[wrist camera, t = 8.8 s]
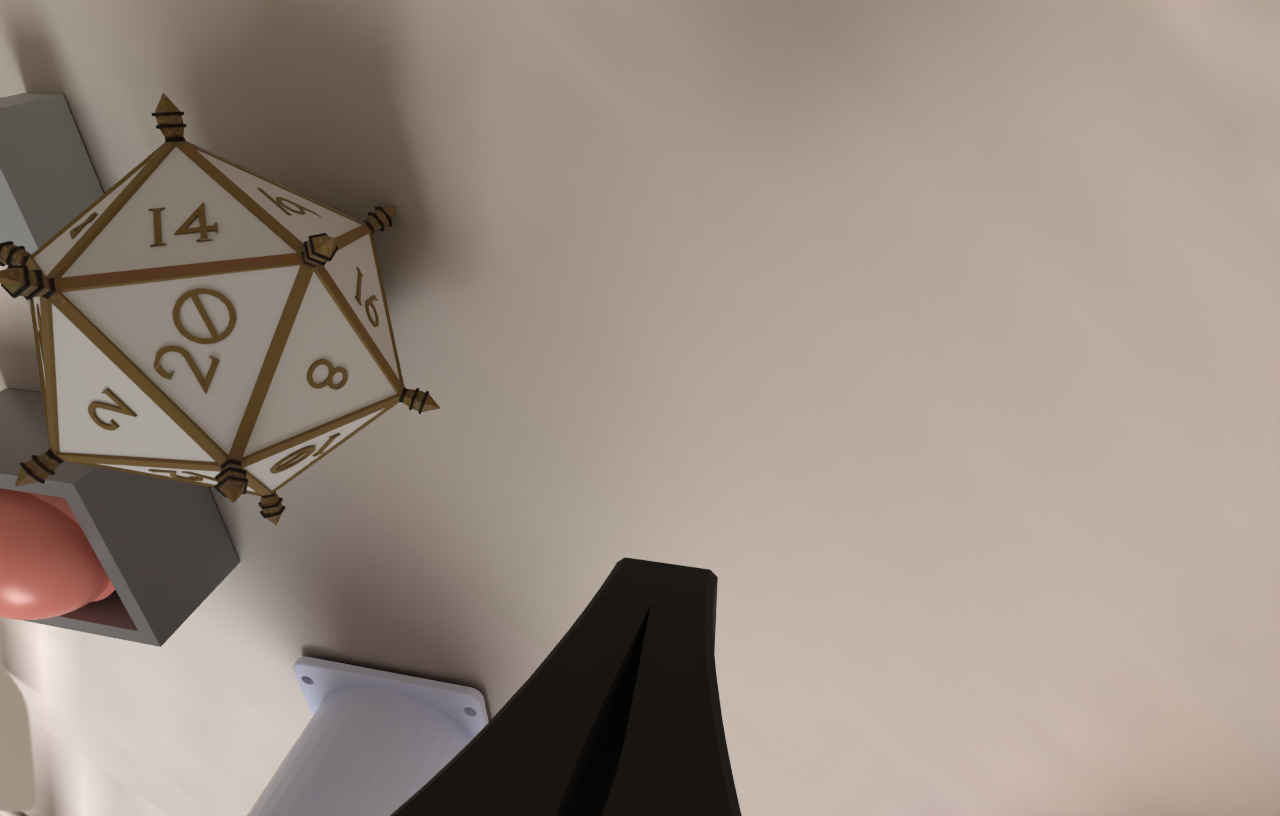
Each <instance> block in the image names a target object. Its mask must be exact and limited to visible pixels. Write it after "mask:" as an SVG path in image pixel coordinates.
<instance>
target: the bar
mask: <svg viewBox="0 0 1280 816" xmlns="http://www.w3.org/2000/svg"><path fill="white" fill-rule="evenodd" d="M103 194H104V193H103V191H102V189H101V186H100V184H99V181H98V179H97V176H96V174H95V171H94V169H93V166H92V164H91V161H90V159H89V156H88V154H87V152H86V149H85V147H84V144H83V142H82V139H81V137H80V134H79V132H78V129H77V127H76V124H75V122H74V119H73V117H72V115H71V112H70V110H69V107H68V105H67V102H66V100H65V97H64V95H63V94H49V93H22V94H18V95H13V96H8V97H4V98H0V243H3V242H8V241H12V242H13V245H16V246H24V247H25V250H26V251H27V252H29V253H30V254H33V253H34V252H35V251H36V250H38V249H39V248H40V247H41V246H42V245H44V244H45V243H46V242H47V241H48V240H50V239H51V238H52V237H53V236H54V235H56V234H57V233H58V232H59V231H60V230H62V229H63V228H64V227H65V226H66V225H67V224H69V223H70V222H71V221H72V220H73V219H75V218H76V217H77V216H78V215H79V214H81V213H82V212H83V211H84V210H85V209H87V208H88V207H89V206H90V205H91V204H92V203H94V202H95V201H96V200H97V199H98V198H100V197H101V196H102V195H103ZM26 300H27V299H26ZM27 302H28V304H29V306H30V300H27ZM30 308H31V306H30Z"/></svg>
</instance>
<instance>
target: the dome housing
mask: <svg viewBox="0 0 1280 816" xmlns="http://www.w3.org/2000/svg"><path fill="white" fill-rule="evenodd" d="M49 448H50V447H49V440H48V432H47V425H46V418H45V410H44V403H43V395H42V393H40V392H32V391H23V390H15V389H4V390H2V391H0V488H2V489H9V490H15V491H22V492H29V493H35V494H42V495H48V496H55V497H62V498H65V499H66V501H67V503H68V505H69V507H70V508H71V510H72V512H73V514H74V516H75V517H76V519H77V521H78V523H79V525H80V526H81V528H82V530H83V532H84V534H85V535H86V537H87V539H88V541H89V543H90V545H91V546H92V548H93V550H94V552H95V554H96V555H97V557H98V559H99V561H100V563H101V564H102V566H103V568H104V570H105V572H106V573H107V575H108V577H109V579H110V581H111V583H112V584H113V586H114V588H115V590H114V591H113V592H112V593H111V594H110V595H109V596H108V597H106V598H104V599H102V600H99V601H93V602H89V603H88V604H86V605H84V606H82V607H80V608H78V609H76V610H74V611H72V612H69V613H66V614H63V615H60V616H56V617H51V618H47V619H37V620H24V621H30V622H35V623H40V624H45V625H50V626H56V627H61V628H66V629H71V630H77V631H82V632H87V633H92V634H97V635H103V636H108V637H113V638H118V639H123V640H129V641H134V642H139V643H144V644H150V645H155V646H160V647H161V646H162V645H163V644H164V643H165V642H166V640H167V639H168V638H169V637H170V636H171V635H172V634H173V633H174V632H175V631H176V630H177V629H178V628H179V627H180V626H181V624H182V623H183V622H184V621H185V620H186V619H187V618H188V617H189V616H190V615H191V614H192V613H193V612H194V611H195V610H196V608H197V607H198V606H199V605H200V604H201V603H202V602H203V601H204V600H205V599H206V598H207V597H208V596H209V595H210V593H211V592H212V591H213V590H214V589H215V588H216V587H217V586H218V585H219V584H220V583H221V582H222V581H223V580H224V579H225V577H226V576H227V575H228V574H229V573H230V572H231V571H232V570H233V569H234V568H235V567H236V566H237V565H238V564H239V562H240V561H239V559H238V557H237V554H236V552H235V549H234V547H233V545H232V542H231V540H230V537H229V535H228V533H227V530H226V528H225V526H224V523H223V521H222V518H221V516H220V514H219V511H218V509H217V506H216V504H215V502H214V499H213V497H212V494H211V492H210V490H209V487H208V486H202V485H196V484H191V483H185V482H179V481H173V480H168V479H162V478H156V477H150V476H145V475H139V474H133V473H127V472H122V471H116V470H110V469H105V468H99V467H93V466H87V465H82V464H76V463H70V462H62V463H60V464H59V466H58V467H57V468H56V470H55V473H56V474H54V475H49V476H48V477H47V478H46V479H45V483H44V484H42V483H40V482H39V483H33V484H27V485H21V486H15V483H16V480H17V477H18V474H19V472H20V469H21V465H20V463H21V462H23V463H26V462H28V461H29V460H31V459H32V457H31V456H32V455H36V456H38V455H40V454H43V453H45V452H47V451H48V450H49ZM14 486H15V487H14Z"/></svg>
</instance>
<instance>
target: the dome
mask: <svg viewBox="0 0 1280 816" xmlns="http://www.w3.org/2000/svg"><path fill="white" fill-rule="evenodd" d="M114 590H115V588H114V586H113V584H112V583H111V581H110V579H109V577H108V575H107V573H106V572H105V570H104V568H103V566H102V564H101V563H100V561H99V559H98V557H97V555H96V554H95V552H94V550H93V548H92V546H91V545H90V543H89V541H88V539H87V537H86V535H85V534H84V532H83V530H82V528H81V526H80V525H79V523H78V521H77V519H76V517H75V516H74V514H73V512H72V510H71V508H70V507H69V505H68V503H67V501H66V499H65V498H62V497H55V496H48V495H42V494H35V493H29V492H22V491H15V490H9V489H2V488H0V617H5V618H10V619H17V620H37V619H47V618H51V617H56V616H60V615H63V614H66V613H69V612H72V611H74V610H76V609H78V608H80V607H82V606H84V605H86V604H88V603H89V602H93V601H99V600H102V599H104V598H106V597H108V596H109V595H110V594H111V593H112V592H113V591H114Z"/></svg>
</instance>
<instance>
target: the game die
mask: <svg viewBox="0 0 1280 816" xmlns="http://www.w3.org/2000/svg"><path fill="white" fill-rule="evenodd" d="M182 115H184V112H180V111H179V109H178V108H177V107H176V106H175V105H174V104H173V103H172V102H171V101H170V100H169V98H168V97H167V96H166V95H165V94H164V93H163V94H162V96H161V99H160V101H159V104H158V106H157V109H156V111H155V113H152V116H156V119H157V122H158V125H157V126H156V128H157V129H160V130H161V132H162V133H163V135H164V136H165V143H164V144H163V145H162V146H160V147H159V148H158V149H157V150H156V151H154V152H153V153H152V154H151V155H150V156H148V157H147V158H146V159H145V160H144V161H143V162H141V163H140V164H139V165H138V166H137V167H135V168H134V169H133V170H132V171H131V172H129V173H128V174H127V175H126V176H125V177H123V178H122V179H121V180H120V181H119V182H118V183H116V184H115V185H114V186H113V187H112V188H110V189H109V190H108V191H107V192H106V193H104V194H103V195H102V196H101V197H100V198H98V199H97V200H96V201H95V202H94V203H92V204H91V205H90V206H89V207H88V208H87V209H85V210H84V211H83V212H82V213H81V214H79V215H78V216H77V217H76V218H75V219H73V220H72V221H71V222H70V223H69V224H67V225H66V226H65V227H64V228H63V229H62V230H60V231H59V232H58V233H57V234H56V235H54V236H53V237H52V238H51V239H50V240H48V241H47V242H46V243H45V244H44V245H42V246H41V247H40V248H39V249H38V250H36V251H35V252H34V253H33V254H30V253H29V252H27V251H26V250H25V247H24V246H16V245H13V242H12V241H8V242H3V243H0V265H1V266H3V267H4V266H5V265H8V268H7V269H5V270H2V271H0V283H1V286H2V287H3V288H4V289H5V290H6V291H7V292H8V293H9V294H10V295H11V296H12V297H13V298H16V297H18V296H19V295H20V296H24V297H25V298H26V299H27V300H30V306H31V314H32V321H33V328H34V336H35V343H36V351H37V358H38V366H39V373H40V380H41V388H42V395H43V403H44V410H45V418H46V425H47V432H48V440H49V447H50V448H49V450H48V451H47V452H45V453H43V454H40V455H38V456H36V455H32V456H31V457H32V459H31V460H29V461H28V462H26V463H23V462H21V463H20V465H21V469H20V472H19V474H18V477H17V480H16V483H15V486H21V485H27V484H33V483H39V482H40V483H42V484H44V483H45V479H46V478H47V477H48V476H49V475H54V474H56V473H55V470H56V468H57V467H58V466H59V464H60V463H62V462H70V463H76V464H82V465H87V466H93V467H99V468H105V469H110V470H116V471H122V472H127V473H133V474H139V475H145V476H150V477H156V478H162V479H168V480H173V481H179V482H185V483H191V484H196V485H202V486H208V487H214V488H215V489H216V490H217V491H219V492H220V493H221V494H222V495H223V496H224V497H228V498H229V499H230V500H231V501H232V502H233V503H234V502H235V501H236V500H237V499H238V498H239V497H240V496H241V495H242V494H246V493H248V494H254V495H259V496H261V502H259V506H260V507H261V508H262V511H260V513H261V515H262V516H263V517H264V518H268V519H269V520H270V521H271V522H273V523H274V524H275V525H276V526H277V523H278V521H279V518H280V516H281V513H282V512H283V511H284V509H285V506H282V503H281V502H282V500H283V499H282V498H279V497H278V495H277V494H276V491H277V490H278V489H280V488H281V487H282V486H284V485H285V484H287V483H288V482H289V481H291V480H292V479H293V478H295V477H296V476H298V475H299V474H300V473H302V472H303V471H304V470H306V469H307V468H309V467H310V466H311V465H313V464H314V463H316V462H317V461H318V460H320V459H321V458H322V457H324V456H325V455H327V454H328V453H329V452H331V451H332V450H334V449H335V448H336V447H338V446H339V445H340V444H342V443H343V442H345V441H346V440H347V439H349V438H350V437H351V436H353V435H354V434H356V433H357V432H358V431H360V430H361V429H363V428H364V427H365V426H367V425H368V424H369V423H371V422H372V421H374V420H375V419H376V418H378V417H379V416H380V415H382V414H383V413H385V412H386V411H387V410H389V409H390V408H392V407H393V406H394V405H396V404H397V403H398V402H403V403H404V404H406V405H407V406H408V407H409V410H412V409H415V410H417V411H419V414H421V412H424V411H429V410H434V409H439V408H440V407H439V406H438V405H437V403H436V402H435V401H434V400H433V399H432V397H431V396H430V395H429V391H426V393H425V392H422V391H419V388H417V389H416V390H410V389H406V388H405V387H404V383H403V378H402V374H401V369H400V364H399V359H398V354H397V350H396V345H395V340H394V335H393V331H392V326H391V321H390V316H389V311H388V307H387V302H386V297H385V292H384V287H383V283H382V278H381V273H380V268H379V263H378V259H377V254H376V249H375V244H374V239H373V235H372V234H373V233H374V232H376V231H379V230H381V231H382V232H383V231H384V228H385V227H387V226H388V225H389V226H390V227H391V226H392V218H393V216H394V213H395V210H396V207H385V208H382V207H377V206H376V207H375V209H376V210H375V211H373V212H372V213H371V212H369V213H368V215H369V216H368V217H367V219H366V220H365V221H363V222H361V221H359V220H357V219H355V218H353V217H350V216H348V215H346V214H344V213H342V212H340V211H337V210H335V209H333V208H331V207H329V206H326V205H324V204H322V203H320V202H318V201H316V200H313V199H311V198H309V197H307V196H305V195H302V194H300V193H298V192H296V191H294V190H292V189H289V188H287V187H285V186H283V185H281V184H279V183H276V182H274V181H272V180H270V179H268V178H265V177H263V176H261V175H259V174H257V173H255V172H252V171H250V170H248V169H246V168H244V167H241V166H239V165H237V164H235V163H233V162H231V161H228V160H226V159H224V158H222V157H220V156H218V155H215V154H213V153H211V152H209V151H207V150H204V149H202V148H200V147H198V146H196V145H194V144H191V143H189V142H187V141H186V140H185V138H184V137H183V135H184V127H186V124H183V120H182ZM15 486H14V487H15Z"/></svg>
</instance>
